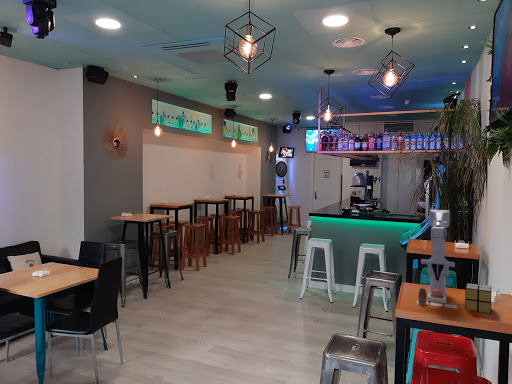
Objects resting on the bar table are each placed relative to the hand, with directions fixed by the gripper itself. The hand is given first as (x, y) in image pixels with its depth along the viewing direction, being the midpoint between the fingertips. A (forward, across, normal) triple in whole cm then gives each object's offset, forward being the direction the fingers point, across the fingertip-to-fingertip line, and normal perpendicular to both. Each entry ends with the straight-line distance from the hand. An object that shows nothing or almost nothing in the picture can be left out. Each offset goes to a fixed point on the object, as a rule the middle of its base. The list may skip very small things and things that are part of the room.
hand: (437, 280), depth 187 cm
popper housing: (+10, 0, 0) cm, 10 cm away
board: (+10, 0, -8) cm, 13 cm away
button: (+8, 0, 0) cm, 8 cm away
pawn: (+10, -6, -8) cm, 14 cm away
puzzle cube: (+10, +17, -4) cm, 20 cm away
